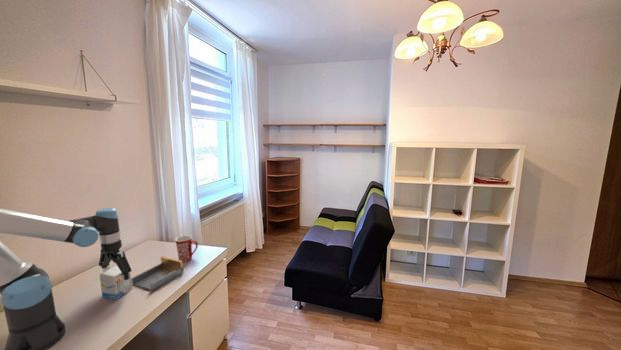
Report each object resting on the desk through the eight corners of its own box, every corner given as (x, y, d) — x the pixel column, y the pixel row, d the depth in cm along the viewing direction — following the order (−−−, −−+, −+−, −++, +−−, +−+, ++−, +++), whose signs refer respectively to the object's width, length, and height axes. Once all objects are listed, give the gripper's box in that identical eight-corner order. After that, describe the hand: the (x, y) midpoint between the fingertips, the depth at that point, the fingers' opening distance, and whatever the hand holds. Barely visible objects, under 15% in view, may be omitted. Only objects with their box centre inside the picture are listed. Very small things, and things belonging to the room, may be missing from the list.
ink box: (116, 299, 116) (113, 276, 115) (101, 297, 118) (98, 274, 116) (133, 288, 125) (130, 266, 123) (118, 286, 126) (116, 265, 125)
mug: (173, 262, 151) (171, 241, 148) (181, 255, 159) (180, 235, 157) (194, 262, 150) (193, 241, 148) (201, 255, 159) (200, 235, 157)
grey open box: (152, 291, 123) (151, 278, 121) (131, 284, 128) (130, 272, 127) (183, 272, 139) (182, 261, 138) (163, 267, 145) (162, 256, 143)
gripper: (137, 241, 116) (142, 283, 120) (103, 234, 125) (109, 273, 129) (119, 248, 109) (126, 292, 113) (85, 240, 118) (92, 281, 122)
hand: (117, 282), depth 121 cm, fingers open, 13 cm apart
